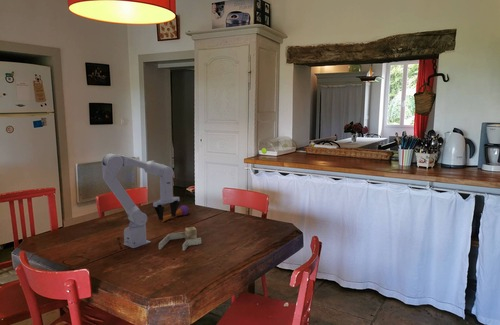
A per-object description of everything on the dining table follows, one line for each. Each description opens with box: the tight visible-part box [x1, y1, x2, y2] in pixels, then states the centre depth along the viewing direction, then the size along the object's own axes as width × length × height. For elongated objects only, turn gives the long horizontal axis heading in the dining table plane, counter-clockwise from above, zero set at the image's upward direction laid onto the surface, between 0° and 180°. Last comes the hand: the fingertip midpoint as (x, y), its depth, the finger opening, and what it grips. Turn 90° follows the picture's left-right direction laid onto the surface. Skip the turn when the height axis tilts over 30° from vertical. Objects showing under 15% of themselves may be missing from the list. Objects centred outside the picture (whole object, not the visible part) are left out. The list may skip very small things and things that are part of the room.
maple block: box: [184, 226, 198, 241], centre depth 171 cm, size 4×4×6 cm
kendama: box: [159, 204, 190, 223], centre depth 208 cm, size 6×6×20 cm
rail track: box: [158, 231, 202, 252], centre depth 168 cm, size 22×17×3 cm
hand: (167, 218), depth 176 cm, fingers open, 7 cm apart
